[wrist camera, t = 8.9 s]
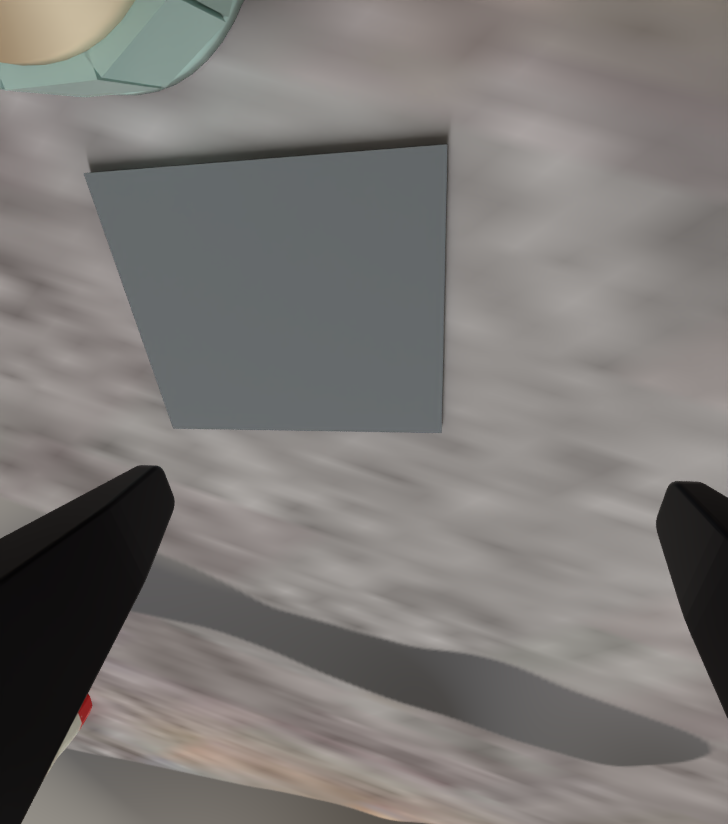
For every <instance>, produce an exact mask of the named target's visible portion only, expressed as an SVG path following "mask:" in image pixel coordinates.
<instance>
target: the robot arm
mask: <svg viewBox="0 0 728 824" xmlns="http://www.w3.org/2000/svg"><path fill="white" fill-rule="evenodd" d="M174 503H175V501H174V496H173V493H172V491H171V488H170V486H169V483H168V480H167V478H166V475H165V473H164V471H163V469H162V468H161V467H159V466H152V465H140V466H136V467H134V468H132V469H131V470H129V471H127V472H125V473H123V474H121V475H119V476H117V477H115V478H114V479H112V480H110V481H108V482H106V483H104V484H102V485H100V486H99V487H97V488H95V489H93V490H91V491H89V492H87V493H85V494H83V495H82V496H80V497H78V498H76V499H74V500H72V501H70V502H68V503H67V504H65V505H63V506H61V507H59V508H57V509H55V510H53V511H51V512H50V513H48V514H46V515H44V516H42V517H40V518H38V519H36V520H35V521H33V522H31V523H29V524H27V525H25V526H23V527H21V528H19V529H18V530H16V531H14V532H12V533H10V534H8V535H6V536H4V537H3V538H1V539H0V824H21V823H22V821H23V819H24V817H25V815H26V813H27V811H28V809H29V807H30V805H31V803H32V801H33V799H34V797H35V796H36V794H37V792H38V790H39V788H40V786H41V784H42V782H43V780H44V778H45V776H46V774H47V772H48V770H49V768H50V766H51V764H52V762H53V760H54V758H55V757H56V755H57V753H58V751H59V749H60V747H61V745H62V743H63V741H64V739H65V737H66V735H67V733H68V731H69V729H70V727H71V725H72V723H73V721H74V719H75V718H76V716H77V714H78V712H79V710H80V708H81V706H82V704H83V702H84V700H85V698H86V696H87V694H88V692H89V690H90V688H91V686H92V684H93V682H94V681H95V679H96V677H97V675H98V673H99V671H100V669H101V667H102V665H103V663H104V661H105V659H106V657H107V655H108V653H109V651H110V649H111V647H112V645H113V643H114V642H115V640H116V638H117V636H118V634H119V632H120V630H121V628H122V626H123V624H124V622H125V620H126V618H127V616H128V614H129V612H130V610H131V608H132V606H133V604H134V603H135V601H136V599H137V596H138V595H139V593H140V591H141V588H142V587H143V584H144V582H145V580H146V578H147V576H148V573H149V571H150V569H151V566H152V564H153V561H154V558H155V556H156V553H157V551H158V548H159V546H160V543H161V541H162V538H163V535H164V533H165V530H166V528H167V525H168V523H169V520H170V518H171V515H172V513H173V510H174ZM656 528H657V533H658V537H659V540H660V543H661V546H662V549H663V553H664V556H665V559H666V562H667V566H668V569H669V572H670V575H671V579H672V582H673V585H674V588H675V591H676V595H677V598H678V601H679V604H680V607H681V610H682V613H683V616H684V619H685V621H686V624H687V626H688V629H689V631H690V634H691V636H692V638H693V641H694V643H695V645H696V647H697V650H698V652H699V654H700V657H701V659H702V661H703V663H704V666H705V668H706V670H707V673H708V675H709V677H710V679H711V682H712V684H713V686H714V689H715V691H716V693H717V695H718V698H719V700H720V702H721V705H722V707H723V709H724V711H725V714H726V716H727V718H728V498H727V497H726V496H724V495H722V494H721V493H719V492H717V491H716V490H714V489H712V488H711V487H709V486H707V485H706V484H704V483H701V482H691V481H675V482H672V483H671V484H670V485H669V486H668V488H667V490H666V493H665V496H664V499H663V502H662V504H661V507H660V510H659V513H658V515H657V520H656Z"/></svg>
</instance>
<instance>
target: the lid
mask: <svg viewBox="0 0 728 824" xmlns="http://www.w3.org/2000/svg"><path fill="white" fill-rule="evenodd" d="M134 2H135V0H0V62H1V63H8V64H15V65H22V66H28V65H47V64H52V63H56V62H60V61H65V60H68V59H70V58H72V57H75V56H77V55H79V54H81V53H83V52H86V51H87V50H89V49H90V48H92V47H93V46H94V45H96V44H97V43H99V42H100V41H101V40H103V39H104V38H105V37H106V36H107V35H108V34H109V33H110V32H111V31H112V30H113V29H114V28H115V27H116V26H117V25H118V24H119V23H120V22H121V21H122V20H123V18H124V17H125V15H126V14H127V12H128V11H129V9H130V8H131V6H132V5H133V3H134Z"/></svg>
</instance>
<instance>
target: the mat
mask: <svg viewBox="0 0 728 824" xmlns="http://www.w3.org/2000/svg"><path fill="white" fill-rule="evenodd" d="M84 176H85V179H86V182H87V184H88V187H89V190H90V193H91V196H92V199H93V202H94V204H95V207H96V210H97V213H98V216H99V219H100V221H101V224H102V227H103V230H104V233H105V236H106V239H107V241H108V244H109V247H110V250H111V253H112V256H113V258H114V261H115V264H116V267H117V270H118V273H119V276H120V278H121V281H122V284H123V287H124V290H125V293H126V295H127V298H128V301H129V304H130V307H131V310H132V313H133V315H134V318H135V321H136V324H137V327H138V330H139V332H140V335H141V338H142V341H143V344H144V347H145V349H146V352H147V355H148V358H149V361H150V364H151V367H152V369H153V372H154V375H155V378H156V381H157V384H158V386H159V389H160V392H161V395H162V398H163V401H164V404H165V406H166V409H167V412H168V415H169V418H170V421H171V423H172V426H173V428H176V429H236V430H295V431H354V432H413V433H442V388H443V338H444V288H445V238H446V188H447V144H441V145H429V146H416V147H404V148H391V149H379V150H366V151H354V152H341V153H329V154H316V155H304V156H291V157H279V158H266V159H254V160H241V161H229V162H216V163H203V164H191V165H178V166H166V167H153V168H141V169H128V170H116V171H103V172H91V173H84Z"/></svg>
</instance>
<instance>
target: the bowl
mask: <svg viewBox="0 0 728 824" xmlns="http://www.w3.org/2000/svg"><path fill="white" fill-rule="evenodd" d="M243 1H244V0H135V2H134V3H133V5H132V6H131V8H130V9H129V11H128V12H127V14H126V15H125V17H124V18H123V20H122V21H121V22H120V23H119V24H118V25H117V26H116V27H115V28H114V29H113V30H112V31H111V32H110V33H109V34H108V35H107V36H106V37H105V38H104V39H103V40H101V41H100V42H99V43H97V44H96V45H94V46H93V47H92V48H90V49H89V50H87V51H86V52H83V53H81V54H79V55H77V56H75V57H72V58H70V59H68V60H65V61H60V62H56V63H52V64H47V65H28V66H22V65H15V64H8V63H1V62H0V89H3V90H7V91H18V92H30V93H41V94H53V95H64V96H76V97H94V96H103V95H143V94H148V93H153V92H158V91H160V90H163V89H165V88H168V87H170V86H173V85H175V84H177V83H179V82H180V81H182V80H184V79H185V78H187V77H188V76H190V75H192V74H193V73H194V72H195V71H196V70H197V69H198V68H200V67H201V66H202V65H203V64H204V63H205V62H206V61H207V60H208V59H209V58H210V57H211V56H212V54H213V53H214V52H215V51H216V49H217V48H218V47H219V46H220V44H221V43H222V42H223V40H224V38H225V37H226V35H227V33H228V32H229V30H230V28H231V27H232V25H233V23H234V22H235V19H236V17H237V15H238V12H239V10H240V8H241V5H242V3H243Z"/></svg>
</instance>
